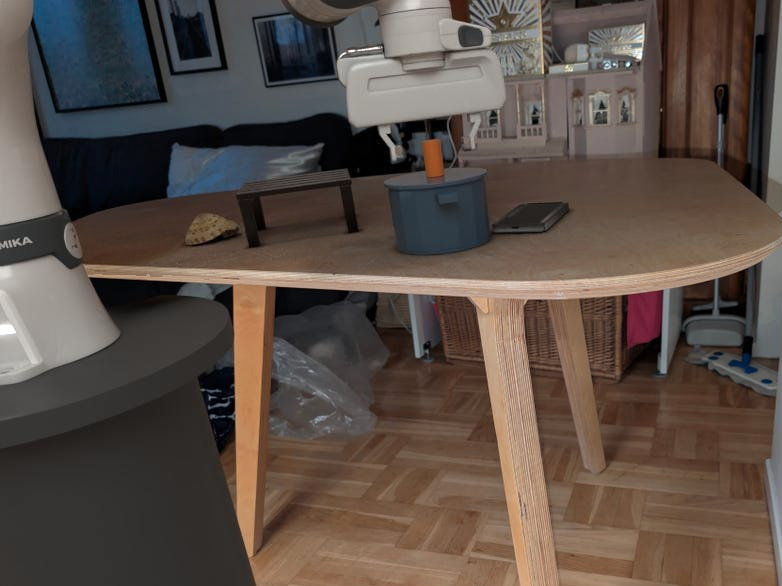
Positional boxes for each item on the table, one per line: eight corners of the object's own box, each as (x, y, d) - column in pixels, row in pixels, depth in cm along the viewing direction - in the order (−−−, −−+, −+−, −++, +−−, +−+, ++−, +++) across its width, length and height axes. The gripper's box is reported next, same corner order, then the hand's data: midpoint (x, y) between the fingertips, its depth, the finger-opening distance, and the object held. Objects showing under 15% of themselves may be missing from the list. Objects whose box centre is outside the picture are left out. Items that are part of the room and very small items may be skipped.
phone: (570, 201, 107) (543, 223, 94) (570, 208, 107) (544, 231, 94) (520, 203, 109) (488, 225, 97) (521, 210, 110) (489, 233, 97)
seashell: (247, 222, 114) (197, 211, 109) (242, 256, 115) (191, 247, 110) (232, 217, 120) (184, 206, 115) (227, 249, 121) (178, 240, 116)
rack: (247, 248, 106) (235, 194, 103) (256, 229, 120) (245, 181, 117) (360, 231, 108) (351, 179, 105) (355, 214, 123) (347, 168, 120)
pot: (405, 264, 86) (395, 196, 83) (391, 236, 103) (382, 178, 99) (504, 249, 88) (498, 181, 85) (475, 224, 105) (469, 166, 101)
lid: (390, 199, 85) (383, 151, 83) (381, 185, 98) (374, 143, 95) (498, 183, 87) (494, 137, 85) (475, 172, 100) (471, 130, 98)
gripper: (333, 47, 81) (355, 169, 87) (503, 28, 85) (514, 147, 90) (332, 50, 87) (352, 164, 92) (491, 32, 90) (502, 143, 96)
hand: (433, 155), depth 91 cm, fingers open, 8 cm apart
